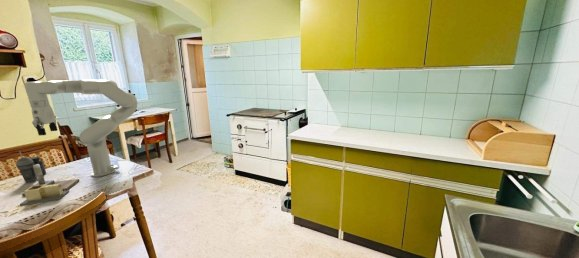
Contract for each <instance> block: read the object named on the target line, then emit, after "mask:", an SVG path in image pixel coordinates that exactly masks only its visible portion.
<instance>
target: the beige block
mask: <svg viewBox="0 0 579 258" xmlns="http://www.w3.org/2000/svg"><path fill="white" fill-rule="evenodd" d="M34 185H35V184H34ZM23 193H25V196H24V197H25V198H26V199H25V200H27V202H30V201H37V200H43V199H44V198H49V197H56V196H61V195H62V194H64V193H63V190H62V187H61V184H53V185H47V184H43V185H35V186H33V185H32V186H30V187H28V188H27V189H25V190H23Z"/></svg>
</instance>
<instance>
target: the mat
mask: <svg viewBox="0 0 579 258" xmlns="http://www.w3.org/2000/svg"><path fill="white" fill-rule="evenodd" d="M69 192H70V190H67V191H63V193H64V194H62V195H61V196H56V197H49V198H44V199H43V200H37V201H30V202H27V199H25V200H23V201H22V202H21V203H19V206H27V205H34V204H42V203H50V202H55V201H60V200H61V199H62V198H63V197H64V196H66V195H68V194H69Z"/></svg>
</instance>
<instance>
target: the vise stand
mask: <svg viewBox="0 0 579 258" xmlns="http://www.w3.org/2000/svg"><path fill="white" fill-rule="evenodd" d="M33 168H34V171H35V174H36V181H37V183H35V184H33V185H32V186H35V185H43V184H47V185H53V184H61V187H62V190H63V191H70V189H71V188H73V187H74V186H76V185H77V184H78V183H79V182H80V178H74V179H67V180H58V181H55V180H52V179H51V180H45V177H44V175H43V174H42V171H41V168H40V165H39V164H36V165H33ZM21 196H22V197H26V196H25V193H24V192H22V193H21Z"/></svg>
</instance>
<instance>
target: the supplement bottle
mask: <svg viewBox="0 0 579 258" xmlns="http://www.w3.org/2000/svg"><path fill="white" fill-rule="evenodd" d="M30 158H31V159H32V160H33V162H34V165H36V164H39V165H40V168H41V171H42V174H43V176H45V175H46V174H47V171H46V167H45V163H44V161H43V160H41V158H40V156H34V157H30Z"/></svg>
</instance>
